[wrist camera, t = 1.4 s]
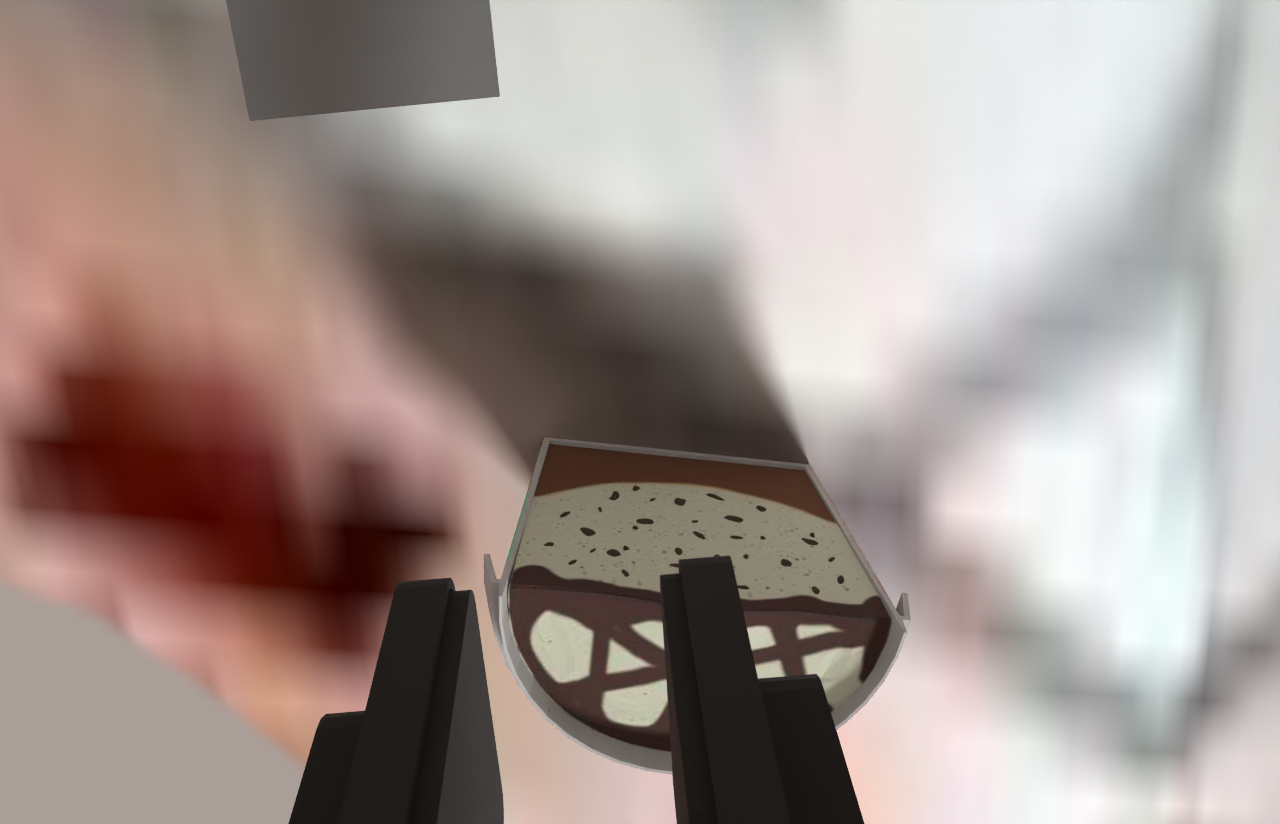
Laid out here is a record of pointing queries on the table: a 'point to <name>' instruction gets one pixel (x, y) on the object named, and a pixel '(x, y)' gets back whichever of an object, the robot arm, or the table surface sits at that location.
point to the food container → (651, 546)
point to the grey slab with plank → (361, 54)
